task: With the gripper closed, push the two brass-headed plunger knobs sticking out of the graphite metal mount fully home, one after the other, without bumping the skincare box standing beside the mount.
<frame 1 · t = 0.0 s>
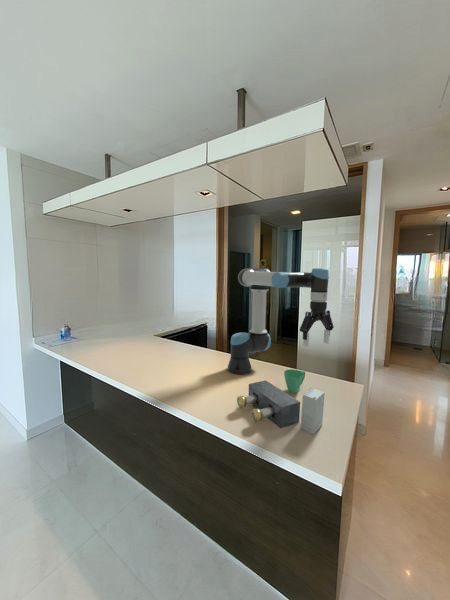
hand: (316, 344, 126), 28 cm above the worktop, fingers open, 13 cm apart
mug: (295, 389, 140), on the worktop
knob right: (267, 412, 109), point 4 cm above the worktop, slide at 0.0 cm
mount: (272, 411, 118), on the worktop
skincare box: (311, 427, 106), on the worktop
knob left: (251, 399, 120), point 4 cm above the worktop, slide at 0.0 cm
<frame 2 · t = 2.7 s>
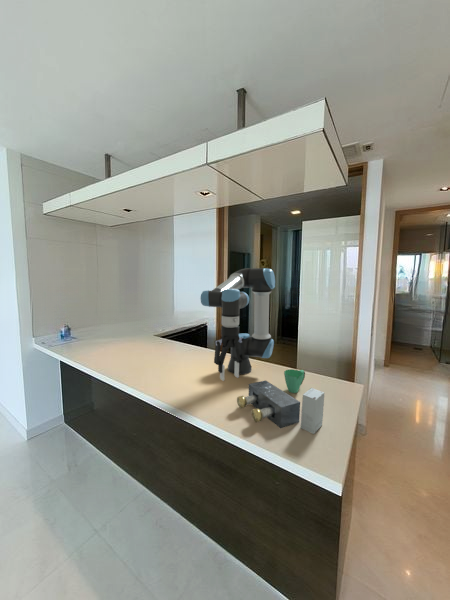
hand: (229, 377, 113), 17 cm above the worktop, fingers open, 6 cm apart
nothing on the worktop moved.
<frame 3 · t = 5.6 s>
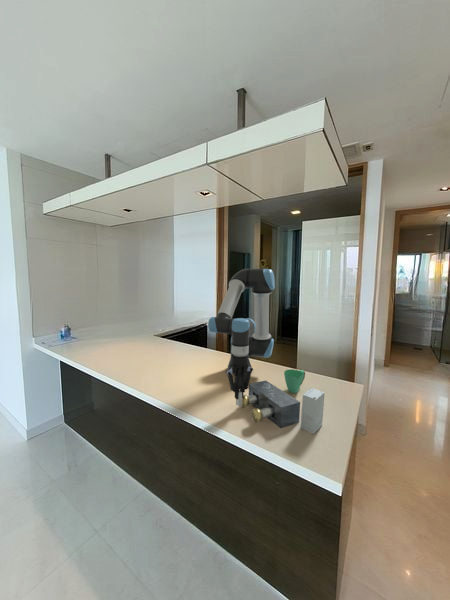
hand: (238, 405, 117), 3 cm above the worktop, fingers closed
knob left: (254, 398, 120), point 5 cm above the worktop, slide at 1.5 cm, touching gripper
everything else where it was.
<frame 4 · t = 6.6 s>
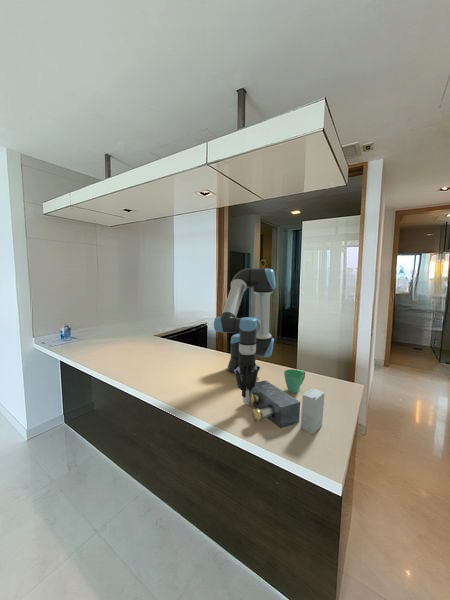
hand: (245, 403, 118), 3 cm above the worktop, fingers closed
knob left: (260, 397, 122), point 4 cm above the worktop, slide at 5.1 cm, touching gripper
everything else where it was.
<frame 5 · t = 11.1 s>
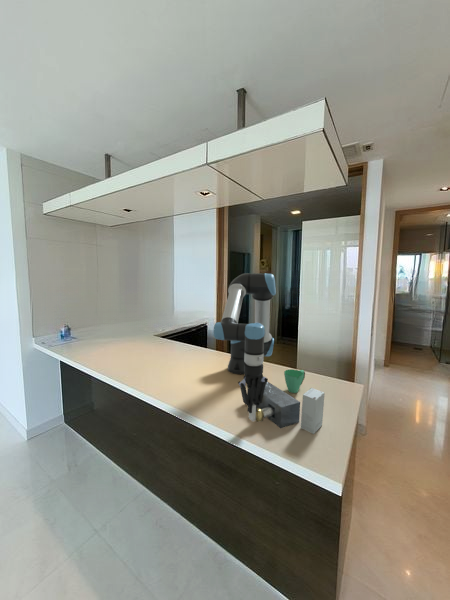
hand: (252, 419, 106), 3 cm above the worktop, fingers closed
knob right: (268, 411, 109), point 4 cm above the worktop, slide at 0.6 cm, touching gripper
knob left: (260, 397, 122), point 4 cm above the worktop, slide at 5.1 cm
everything else where it was.
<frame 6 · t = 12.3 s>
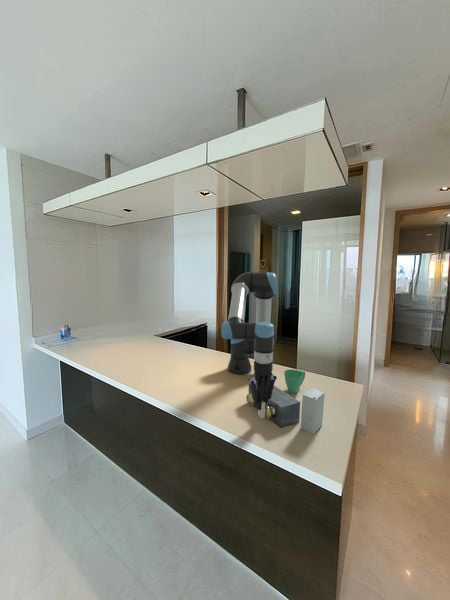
hand: (261, 416, 108), 3 cm above the worktop, fingers closed
knob right: (276, 409, 111), point 4 cm above the worktop, slide at 5.1 cm, touching gripper
everything else where it was.
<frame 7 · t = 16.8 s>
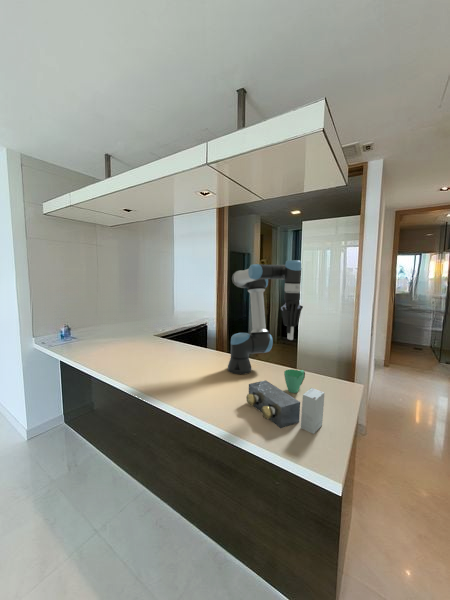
hand: (290, 339, 131), 29 cm above the worktop, fingers closed
knob right: (276, 409, 111), point 4 cm above the worktop, slide at 5.1 cm
everything else where it was.
at the end: knob left slide at 5.1 cm; knob right slide at 5.1 cm; skincare box moved 0.2 cm from its start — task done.
